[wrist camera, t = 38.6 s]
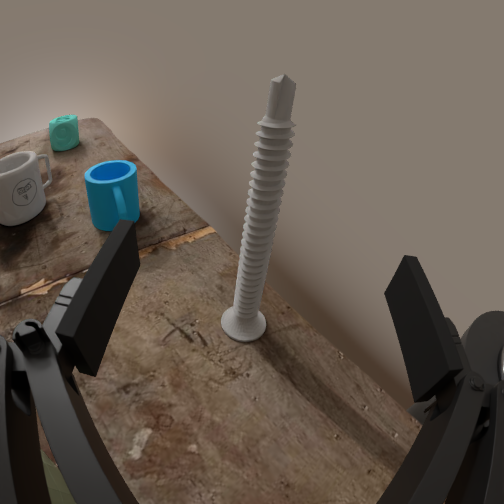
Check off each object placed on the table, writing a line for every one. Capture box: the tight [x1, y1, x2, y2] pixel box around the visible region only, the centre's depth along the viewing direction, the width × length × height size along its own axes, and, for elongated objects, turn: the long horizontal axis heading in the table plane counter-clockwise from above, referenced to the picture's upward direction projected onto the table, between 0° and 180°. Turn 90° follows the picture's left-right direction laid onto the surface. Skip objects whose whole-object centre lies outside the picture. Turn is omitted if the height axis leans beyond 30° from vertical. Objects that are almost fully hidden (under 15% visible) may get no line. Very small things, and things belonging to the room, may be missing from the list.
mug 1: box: [0, 151, 52, 226], centre depth 43 cm, size 14×11×10 cm
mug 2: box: [85, 160, 140, 231], centre depth 43 cm, size 12×8×8 cm
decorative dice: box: [49, 115, 79, 151], centre depth 67 cm, size 8×8×8 cm
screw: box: [221, 74, 296, 342], centre depth 26 cm, size 5×26×5 cm
